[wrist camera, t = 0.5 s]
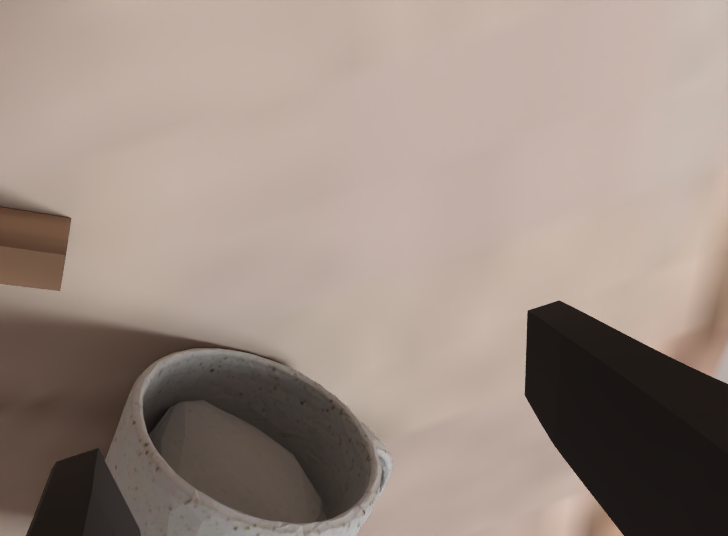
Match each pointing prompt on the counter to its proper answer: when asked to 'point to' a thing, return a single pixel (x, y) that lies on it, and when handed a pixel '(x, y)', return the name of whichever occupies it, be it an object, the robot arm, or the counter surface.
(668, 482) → the robot arm
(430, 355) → the counter surface
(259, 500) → the ceramic mug
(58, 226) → the mug dock
